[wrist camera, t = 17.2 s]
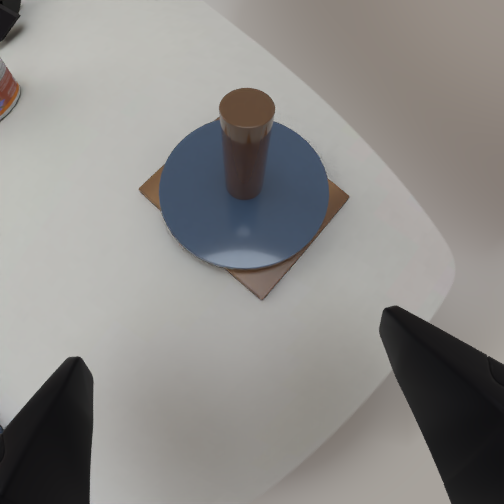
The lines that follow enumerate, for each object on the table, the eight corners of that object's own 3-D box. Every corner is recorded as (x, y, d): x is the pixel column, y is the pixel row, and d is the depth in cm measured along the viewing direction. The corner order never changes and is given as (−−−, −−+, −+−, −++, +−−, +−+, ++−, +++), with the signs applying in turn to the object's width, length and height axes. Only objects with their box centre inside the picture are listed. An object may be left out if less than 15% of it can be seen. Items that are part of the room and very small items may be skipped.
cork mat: (348, 198, 23) (350, 196, 23) (261, 300, 21) (262, 300, 21) (230, 111, 25) (230, 107, 25) (139, 191, 23) (138, 188, 22)
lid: (320, 282, 21) (374, 243, 12) (146, 259, 21) (91, 209, 12) (326, 135, 24) (360, 53, 15) (181, 119, 24) (162, 33, 15)
